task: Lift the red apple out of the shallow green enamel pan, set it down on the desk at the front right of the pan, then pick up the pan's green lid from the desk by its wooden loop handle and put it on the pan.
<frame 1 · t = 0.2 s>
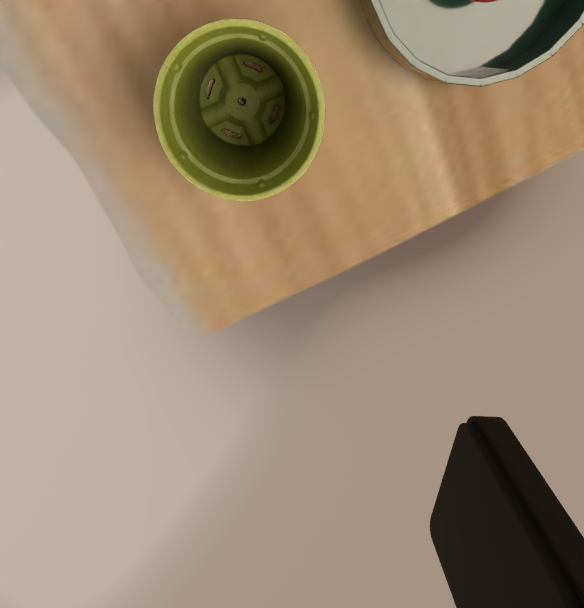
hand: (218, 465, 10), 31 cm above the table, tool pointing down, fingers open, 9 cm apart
plant pot: (243, 101, 36), on the table
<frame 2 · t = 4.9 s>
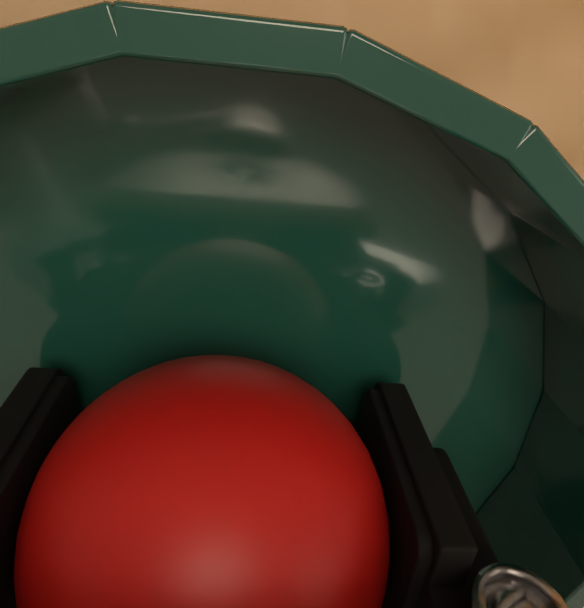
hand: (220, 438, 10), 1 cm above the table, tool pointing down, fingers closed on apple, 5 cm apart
pot: (223, 403, 11), on the table
apple: (222, 417, 11), point 1 cm above the table, touching gripper, pot
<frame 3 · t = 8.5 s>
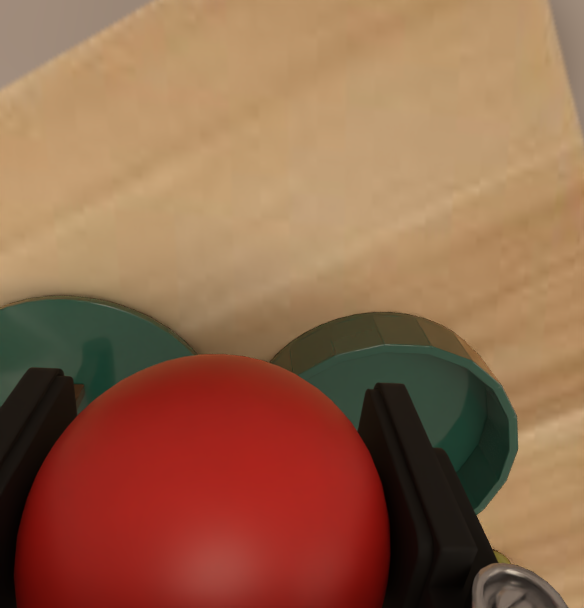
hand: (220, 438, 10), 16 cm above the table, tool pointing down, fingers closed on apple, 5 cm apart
pot: (369, 421, 31), on the table
apple: (222, 416, 11), point 15 cm above the table, touching gripper
lid: (85, 419, 29), point 1 cm above the table
when the fingers open (1 cm above the table, at t = 12.3 s): apple stays where it is, on the table.
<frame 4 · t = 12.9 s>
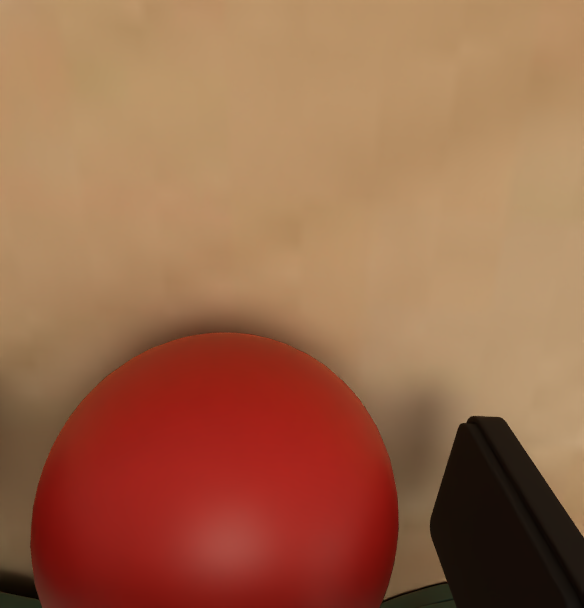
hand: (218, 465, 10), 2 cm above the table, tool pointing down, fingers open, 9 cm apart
apple: (231, 398, 11), on the table
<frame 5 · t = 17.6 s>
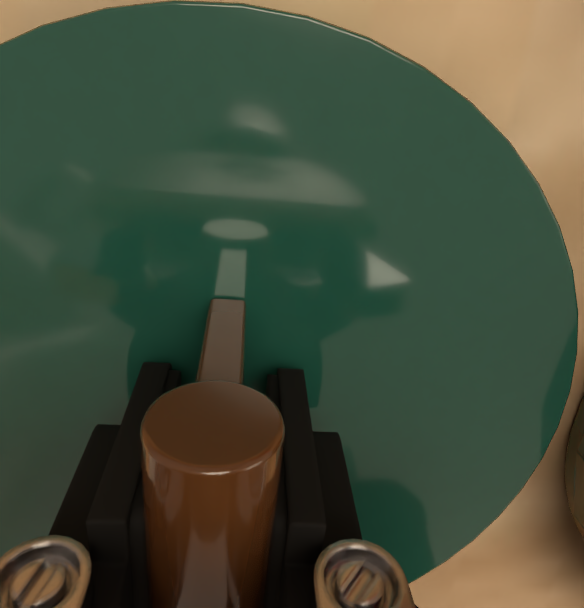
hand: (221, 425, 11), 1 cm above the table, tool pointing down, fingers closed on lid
lid: (224, 400, 12), point 1 cm above the table, touching gripper
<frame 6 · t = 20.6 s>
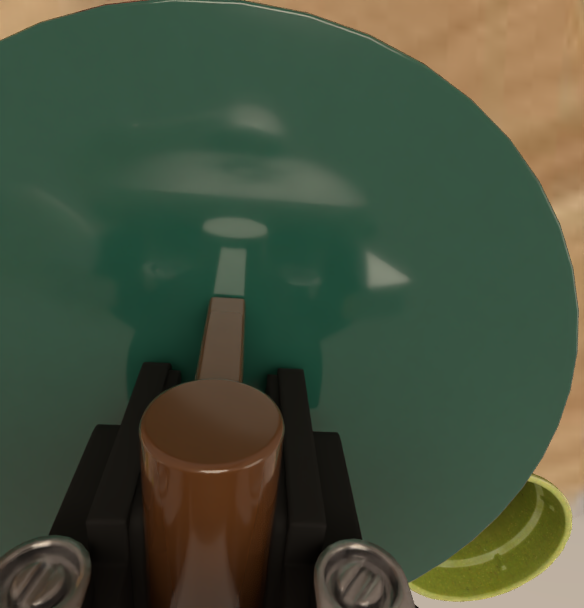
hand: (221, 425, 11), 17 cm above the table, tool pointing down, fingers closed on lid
plant pot: (427, 428, 34), on the table
lid: (223, 399, 12), point 16 cm above the table, touching gripper
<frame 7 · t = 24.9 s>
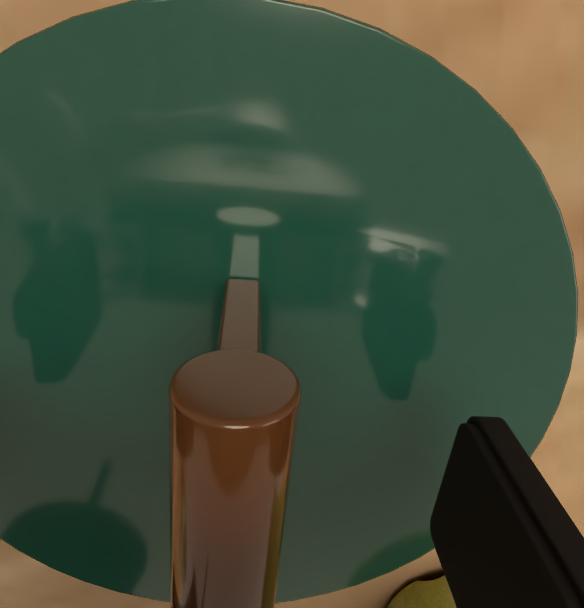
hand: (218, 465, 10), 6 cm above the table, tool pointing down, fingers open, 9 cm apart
plant pot: (449, 604, 23), on the table
lid: (237, 379, 12), point 3 cm above the table, touching pot
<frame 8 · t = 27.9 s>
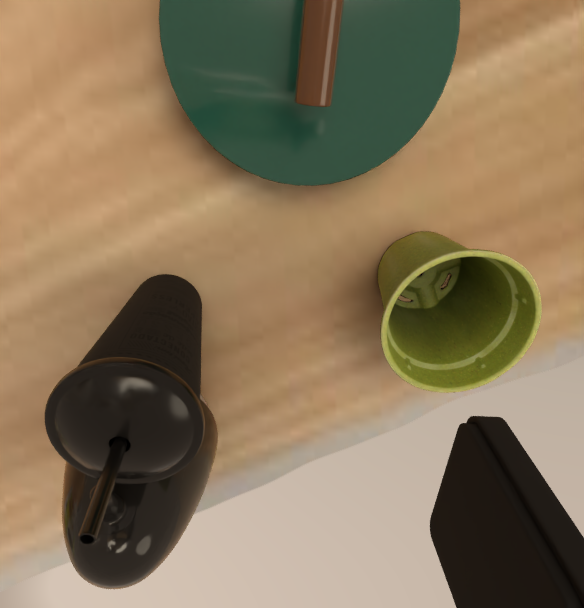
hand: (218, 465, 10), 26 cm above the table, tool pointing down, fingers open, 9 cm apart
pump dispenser: (157, 401, 41), on the table
plant pot: (417, 268, 37), on the table
drinking cup: (168, 302, 37), on the table
lid: (311, 36, 27), point 3 cm above the table, touching pot
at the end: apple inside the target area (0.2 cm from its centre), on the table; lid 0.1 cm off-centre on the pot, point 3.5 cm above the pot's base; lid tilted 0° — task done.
